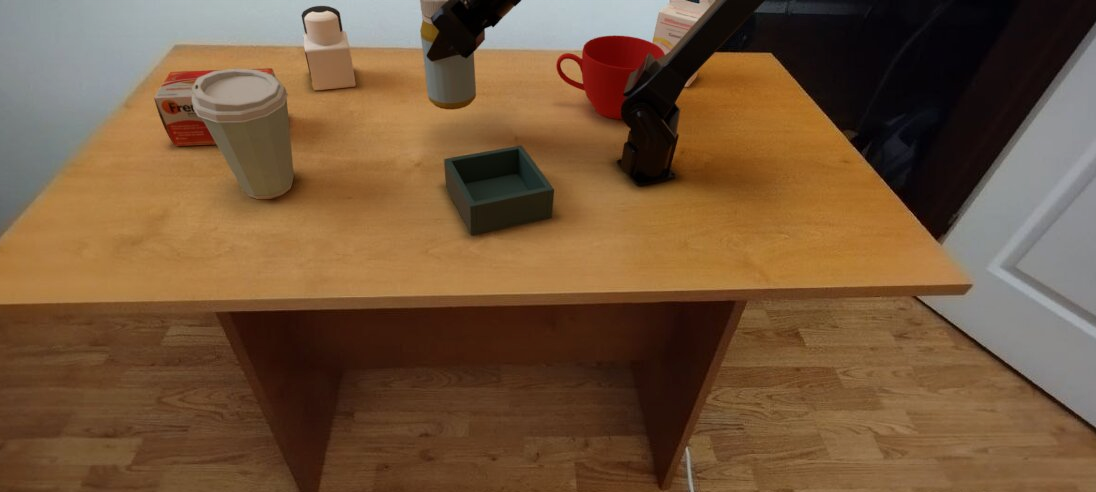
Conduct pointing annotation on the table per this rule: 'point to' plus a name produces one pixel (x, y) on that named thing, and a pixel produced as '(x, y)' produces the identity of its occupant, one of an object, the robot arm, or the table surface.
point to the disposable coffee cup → (248, 127)
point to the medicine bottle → (327, 49)
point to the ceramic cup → (609, 69)
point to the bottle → (445, 67)
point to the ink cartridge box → (677, 24)
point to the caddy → (498, 189)
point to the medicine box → (184, 109)
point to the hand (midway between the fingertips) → (439, 48)
